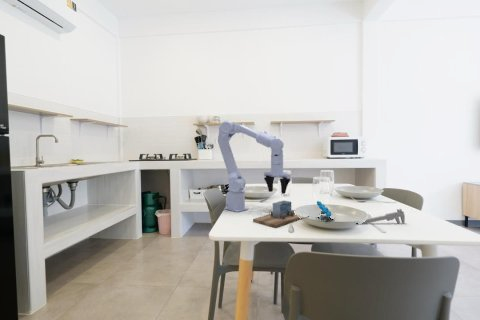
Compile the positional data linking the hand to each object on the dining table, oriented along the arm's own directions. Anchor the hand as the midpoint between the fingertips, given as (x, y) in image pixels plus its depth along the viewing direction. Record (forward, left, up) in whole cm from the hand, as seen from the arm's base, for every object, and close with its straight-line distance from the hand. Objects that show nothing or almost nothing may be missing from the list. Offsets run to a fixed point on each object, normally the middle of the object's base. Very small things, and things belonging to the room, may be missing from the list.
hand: (276, 192), depth 125 cm
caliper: (+41, +14, -10) cm, 44 cm away
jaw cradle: (+9, -8, -9) cm, 15 cm away
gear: (+22, +6, -10) cm, 25 cm away
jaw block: (+9, -8, -8) cm, 15 cm away
